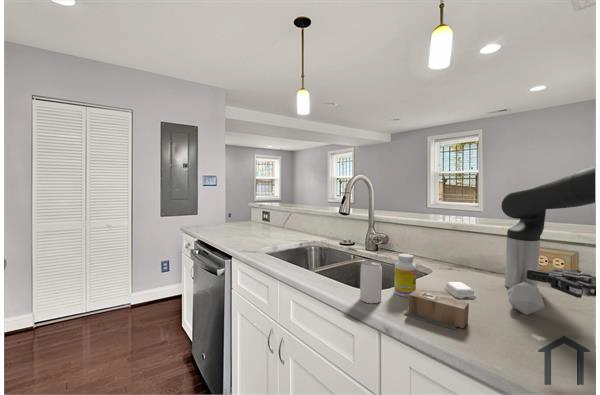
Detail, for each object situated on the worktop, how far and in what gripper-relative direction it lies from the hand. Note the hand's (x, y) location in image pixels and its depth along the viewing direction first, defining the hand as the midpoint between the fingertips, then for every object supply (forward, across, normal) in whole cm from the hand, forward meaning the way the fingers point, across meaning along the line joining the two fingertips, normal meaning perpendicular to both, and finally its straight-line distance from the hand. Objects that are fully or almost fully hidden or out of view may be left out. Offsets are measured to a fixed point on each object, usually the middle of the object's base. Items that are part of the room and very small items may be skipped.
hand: (527, 273), depth 71 cm
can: (+38, +3, +17) cm, 42 cm away
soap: (+19, -22, +18) cm, 34 cm away
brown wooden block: (+12, +2, +13) cm, 18 cm away
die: (+1, -19, +17) cm, 25 cm away
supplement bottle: (+32, -9, +17) cm, 38 cm away
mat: (+20, 0, +16) cm, 26 cm away
